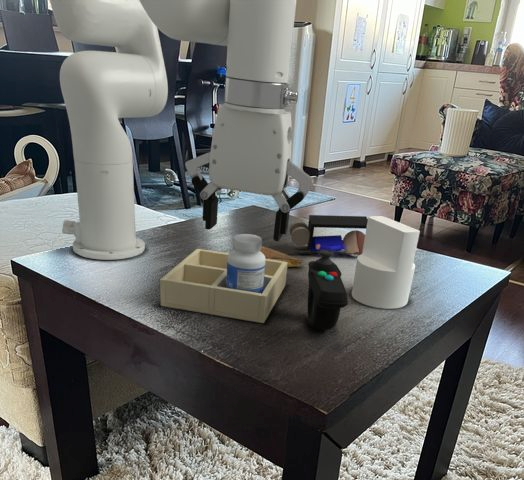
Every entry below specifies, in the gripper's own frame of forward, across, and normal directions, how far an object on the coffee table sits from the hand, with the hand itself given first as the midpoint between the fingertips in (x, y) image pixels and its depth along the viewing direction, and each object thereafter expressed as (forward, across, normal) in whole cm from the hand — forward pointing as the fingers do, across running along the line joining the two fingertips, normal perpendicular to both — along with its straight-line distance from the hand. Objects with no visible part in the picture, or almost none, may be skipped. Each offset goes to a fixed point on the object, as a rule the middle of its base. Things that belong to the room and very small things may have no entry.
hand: (244, 232), depth 74 cm
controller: (+11, -13, +3) cm, 17 cm away
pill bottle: (+10, -1, 0) cm, 11 cm away
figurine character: (+12, -9, -31) cm, 34 cm away
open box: (+11, +3, -3) cm, 12 cm away
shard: (+12, +1, -22) cm, 25 cm away
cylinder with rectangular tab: (+11, -20, -12) cm, 26 cm away
